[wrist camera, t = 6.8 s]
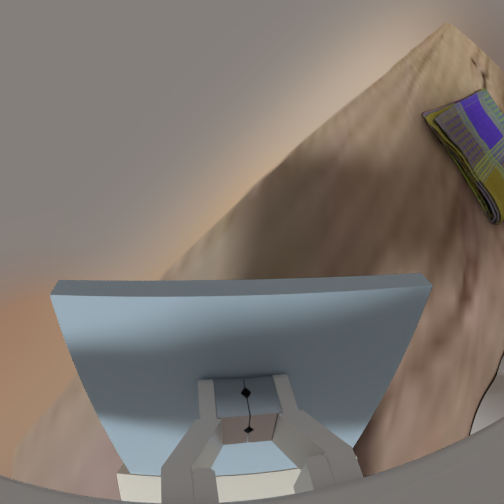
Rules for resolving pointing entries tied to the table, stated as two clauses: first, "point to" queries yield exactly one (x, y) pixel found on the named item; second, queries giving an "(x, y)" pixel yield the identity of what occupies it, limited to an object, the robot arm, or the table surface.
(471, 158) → the dish towel
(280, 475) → the carton
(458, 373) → the table surface
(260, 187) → the table surface
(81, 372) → the flap
